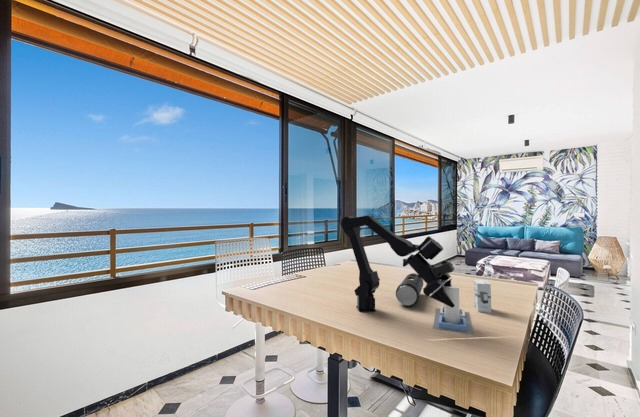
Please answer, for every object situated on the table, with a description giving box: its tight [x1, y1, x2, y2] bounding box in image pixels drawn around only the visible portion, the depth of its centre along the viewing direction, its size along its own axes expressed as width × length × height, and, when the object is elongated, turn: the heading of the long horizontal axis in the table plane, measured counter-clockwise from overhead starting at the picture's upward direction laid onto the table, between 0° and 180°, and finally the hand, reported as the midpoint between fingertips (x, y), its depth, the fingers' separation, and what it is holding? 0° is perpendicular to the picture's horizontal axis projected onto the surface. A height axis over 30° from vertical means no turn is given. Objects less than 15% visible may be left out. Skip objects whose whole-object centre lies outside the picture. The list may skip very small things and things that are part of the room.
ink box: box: [473, 279, 492, 314], centre depth 116 cm, size 9×5×12 cm, turn 160°
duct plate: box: [432, 306, 474, 335], centre depth 104 cm, size 24×12×2 cm, turn 155°
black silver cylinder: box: [395, 272, 424, 307], centre depth 131 cm, size 10×28×10 cm, turn 156°
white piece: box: [443, 286, 461, 325], centre depth 99 cm, size 5×5×12 cm
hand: (456, 303), depth 98 cm, fingers open, 9 cm apart
